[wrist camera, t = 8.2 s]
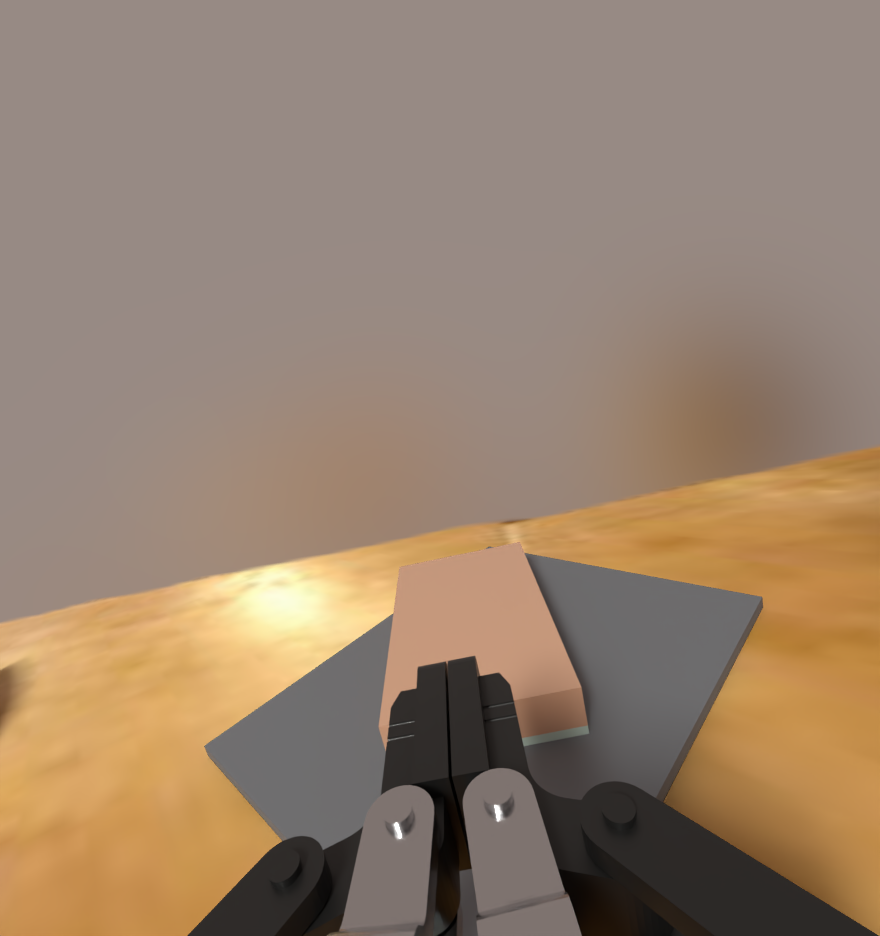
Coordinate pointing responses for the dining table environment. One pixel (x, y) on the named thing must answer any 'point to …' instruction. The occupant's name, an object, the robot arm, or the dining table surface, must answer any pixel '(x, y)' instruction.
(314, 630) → the dining table surface
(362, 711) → the mat
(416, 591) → the tile
